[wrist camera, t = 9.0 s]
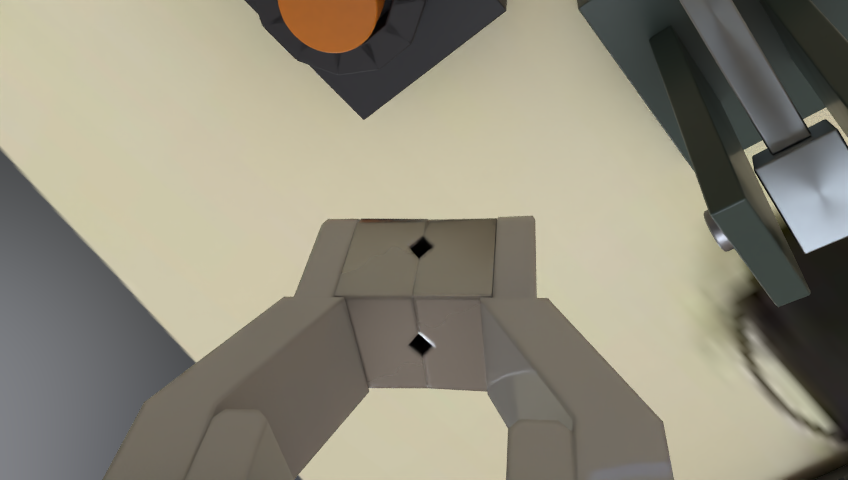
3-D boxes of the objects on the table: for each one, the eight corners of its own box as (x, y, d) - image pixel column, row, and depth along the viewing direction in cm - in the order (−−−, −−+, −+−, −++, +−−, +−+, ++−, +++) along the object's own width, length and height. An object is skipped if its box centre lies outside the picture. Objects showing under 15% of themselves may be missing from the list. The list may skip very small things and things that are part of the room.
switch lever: (561, -68, 21) (541, -80, 19) (711, -189, 18) (708, -218, 16) (752, 252, 21) (754, 276, 19) (928, 176, 18) (952, 193, 16)
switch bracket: (576, -2, 27) (605, 174, 17) (771, -146, 23) (955, -22, 13) (691, 160, 31) (766, 374, 21) (873, 64, 27) (1067, 273, 17)
